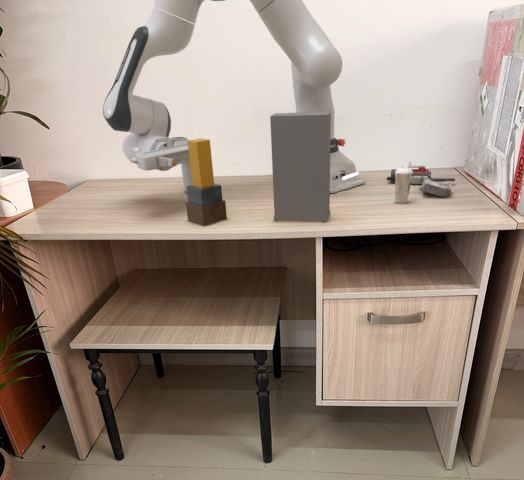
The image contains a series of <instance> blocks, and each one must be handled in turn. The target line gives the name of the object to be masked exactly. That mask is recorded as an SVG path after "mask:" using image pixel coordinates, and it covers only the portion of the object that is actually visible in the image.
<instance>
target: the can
mask: <svg viewBox="0 0 524 480" xmlns="http://www.w3.org/2000/svg"><path fill="white" fill-rule="evenodd" d="M180 167H181V175H182V183H183V190H184V191H185V192H187V189H186V186H190V185H193V183H192V174H191V166H190V162H186V163H181V164H180Z"/></svg>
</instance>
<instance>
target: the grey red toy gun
mask: <svg viewBox="0 0 524 480" xmlns="http://www.w3.org/2000/svg"><path fill="white" fill-rule="evenodd" d="M400 168H404V166H400ZM397 169H398V168H392V169H391V171H390V176H387V177H386V181H389V182H390V183H391V184H396V183H395V171H396V170H397ZM410 169H412V171H413V173H412V179H411V184H413V185H423V184H422V182H419V177H420V178H421V176H423V177H424V178H426V179H430V180H432V181H435V182H438V183H444V182H455V181H456V179H455V178H454V177H442V178H441V177H432V171H430V169H428V168H426V166H425V165H410Z"/></svg>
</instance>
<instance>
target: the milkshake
mask: <svg viewBox="0 0 524 480" xmlns="http://www.w3.org/2000/svg"><path fill="white" fill-rule="evenodd" d="M411 164H412V162H411V161H409V162H408V166H407V167H405V166H403V168H401V167H398V168H396V169H397V170H396V171H395V183H394V184H395V191H394V192H395V193H394V194H395V196H394V197H395V203H396V204H407V203H408V201H409V195H410V189H411V184H412V183H411V179H412V173H413V171H412V169H413V168H410V166H412V165H411Z"/></svg>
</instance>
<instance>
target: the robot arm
mask: <svg viewBox="0 0 524 480" xmlns="http://www.w3.org/2000/svg"><path fill="white" fill-rule="evenodd" d="M211 1H212V2H224V1H225V0H211ZM249 1H250V3H251V5H252V6H253V9H255V12H256V13H257V14H258V16H259V18H260V20H261V21H262V22H263V24H264V26H265V27H266V29H267V30H268V32H269V34H270V35H271V36H272V38H273V40H274V42H275V43H276V44H277V45H278V46H279V47H280V48H281V50H282V51H283V53H285V55H286V57H288V58H289V60H290V69H291V78H292V89H293V96H294V103H295V104H294V105H295V113H303V112H331V134H330V194H334V193H338V192H341V191H344V190H347V189H351V188H354V187H358V186H361V185H363V184H364V179H363V178H361V177H360V176H357V175H359V171H357V168H356V165H355V163H354V161H353V160H351V159H350V158H349V157H348V156H346V155H345V154H344V153H342V152H341V151H340V148H339V147H345V145H346V142H347V141H346V140H345V139H344V138H336V137H335V106H334V102H333V96H332V89H331V86H332V85H333V84H335V82H336V81H337V80H338V79H339V77H340V76H341V74H342V71H343V58H342V56H341V55H342V54H340V52H339V50H338V49H337V48H336V47H335V46H334V44H333V42H332V41H331V39H330V38H329V37H328V35H327V34H326V32H325V31H324V30H323V29H322V27H321V26H320V24H319V23H318V22H317V20H316V19H315V18H314V17H313V15H312V14H311V12H310V10H309V9H308V8H307V5H306V4H305V3H304V0H249ZM204 2H205V0H154V3H153V7H152V11H151V13H150V16H149V18H148V19H147V21H146V22H145V24H144V25H142V26H139V27H137V28H136V30H135V31H134V32H133V34H132V36H131V38H130V41H129V43H128V45H127V48H126V50H125V52H124V56H123V58H122V61H121V63H120V66H119V68H118V71H117V74H116V76H115V79H114V82H113V84H112V85H111V88H110V90H109V92H108V93H107V95H106V97H105V100H104V101H103V106H102V115H103V117H104V119H105V121H106V123H107V124H108V126H109V127H110V128H111V129H112V130H113V131H116V132H124V133H129V134H127V135H126V136H125V137H124V139H123V141H122V146H121V147H122V148H121V149H122V151H123V152H122V153H123V154H124V156H125V158H127V160H129V162H130V163H131V164H134V165H136V166H137V168H138V169H140V170H143V171H154V170H156V171H160V172H166V171H169V170H171V169H172V168H174V167H176V166H178V165H181V163H186V162H190V158H189V150H188V142H187V141H189V140H190V139H188V137H186V136H176V137H170V133H171V129H172V117H171V115H170V111H169V109H168V107H167V106H166V104H164V103H163V102H161V101H157V100H154V99H151V98H146V97H142V96H139V95H136V94H134V90H135V88H136V85H137V82H138V80H139V78H140V75H141V72H142V70H143V68H144V65H145V64H146V63H147V62H148V61H149V60H151V59H153V58H156V57H161V56H170V55H171V56H172V55H175V54H179V53H180V52H182V51H183V50H185V49H186V48H187V47H188V46H189V44H190V42H191V40H192V37H193V34H194V31H195V27H196V23H197V18H198V15H199V11H200V8H201V6H202V4H203V3H204Z"/></svg>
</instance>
